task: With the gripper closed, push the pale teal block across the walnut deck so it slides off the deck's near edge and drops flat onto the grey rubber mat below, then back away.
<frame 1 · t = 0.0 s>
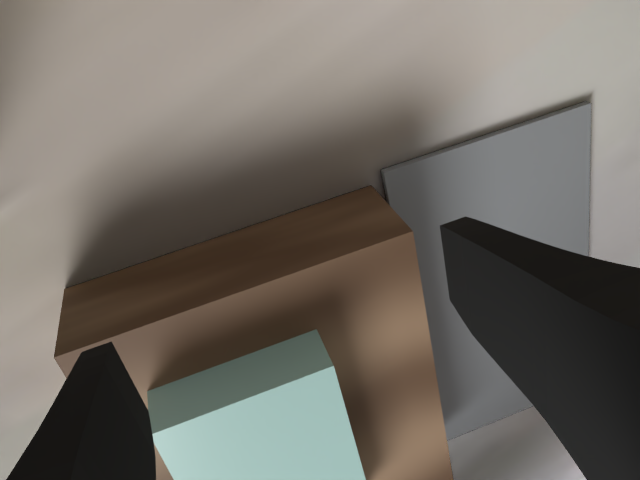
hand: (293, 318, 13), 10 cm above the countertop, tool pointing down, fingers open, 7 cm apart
mat: (498, 293, 28), on the countertop
deck: (273, 377, 27), on the countertop
pale teal block: (267, 446, 23), point 4 cm above the countertop, touching deck
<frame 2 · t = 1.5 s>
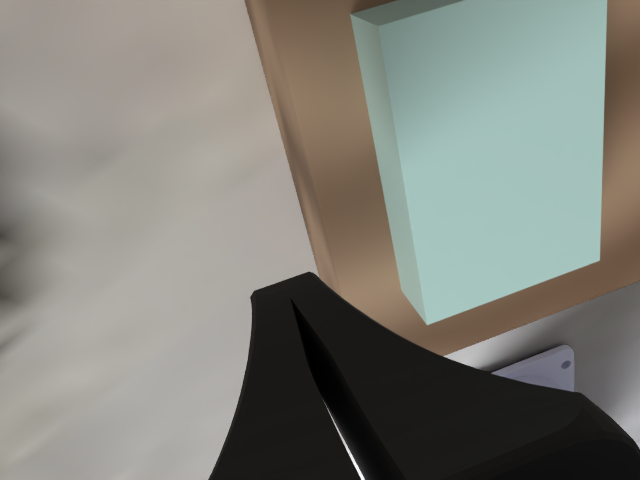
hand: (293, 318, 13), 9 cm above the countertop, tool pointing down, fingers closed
deck: (443, 109, 22), on the countertop
pale teal block: (471, 139, 18), point 4 cm above the countertop, touching deck
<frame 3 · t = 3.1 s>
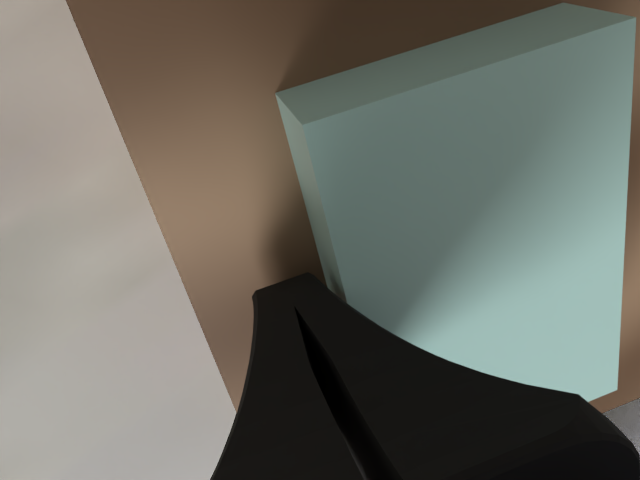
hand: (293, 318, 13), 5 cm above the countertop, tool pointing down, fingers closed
deck: (391, 191, 18), on the countertop
pale teal block: (449, 241, 14), point 4 cm above the countertop, touching gripper
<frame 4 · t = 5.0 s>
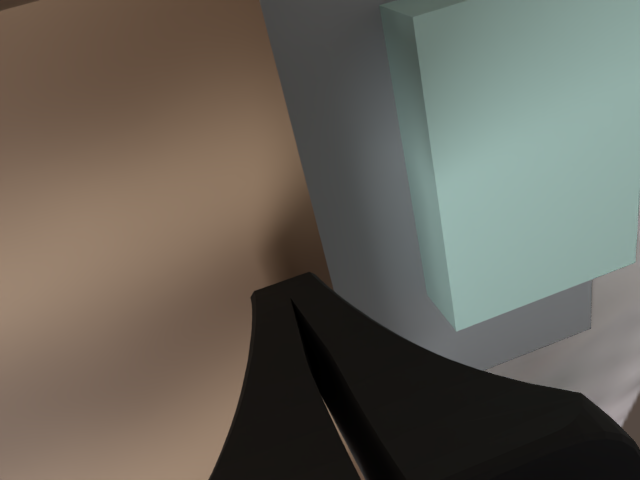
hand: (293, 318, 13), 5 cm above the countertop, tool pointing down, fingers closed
mat: (454, 170, 18), on the countertop
deck: (84, 296, 16), on the countertop
pale teal block: (543, 161, 16), point 2 cm above the countertop, tilted 180°, touching mat
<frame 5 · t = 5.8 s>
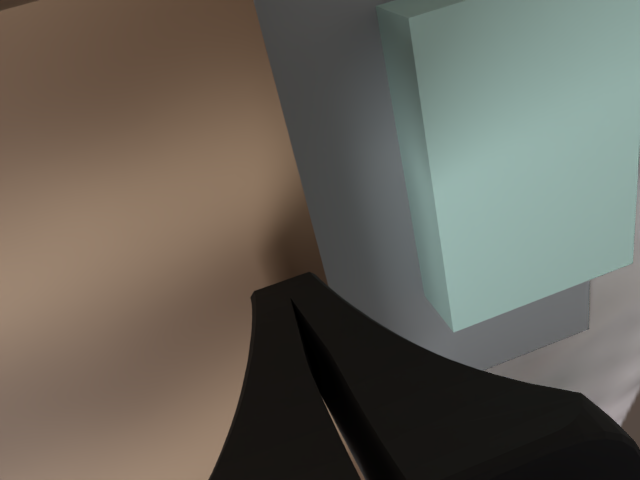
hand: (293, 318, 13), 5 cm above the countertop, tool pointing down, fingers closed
mat: (451, 170, 18), on the countertop
deck: (81, 297, 16), on the countertop
pale teal block: (540, 162, 16), point 2 cm above the countertop, tilted 180°, touching mat
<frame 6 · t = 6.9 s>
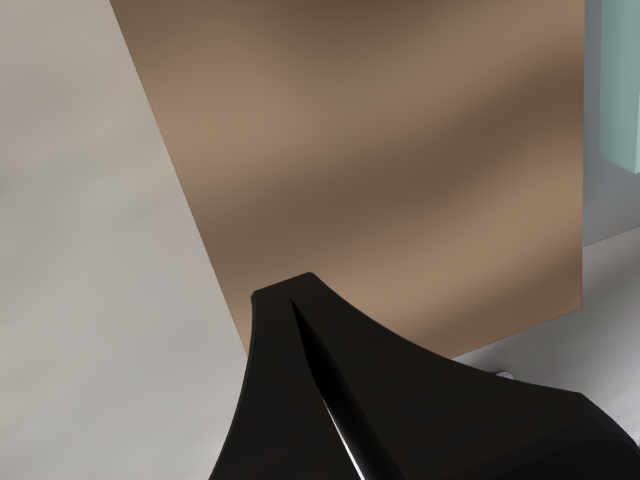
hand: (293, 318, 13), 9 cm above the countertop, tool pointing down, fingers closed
mat: (632, 47, 22), on the countertop
deck: (357, 138, 21), on the countertop
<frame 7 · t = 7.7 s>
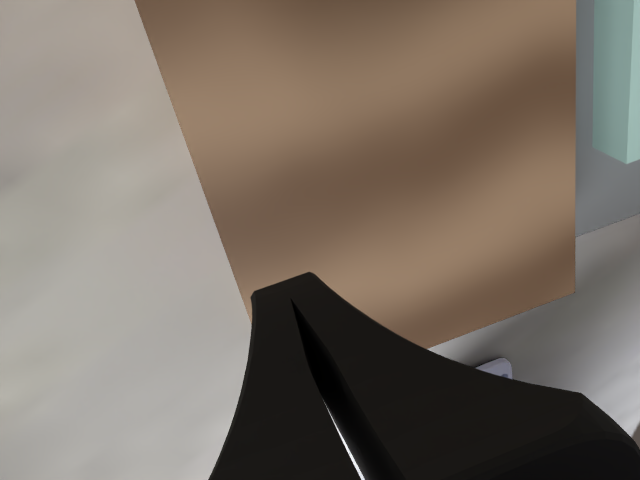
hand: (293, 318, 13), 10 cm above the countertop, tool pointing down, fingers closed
mat: (623, 43, 23), on the countertop
deck: (360, 128, 22), on the countertop
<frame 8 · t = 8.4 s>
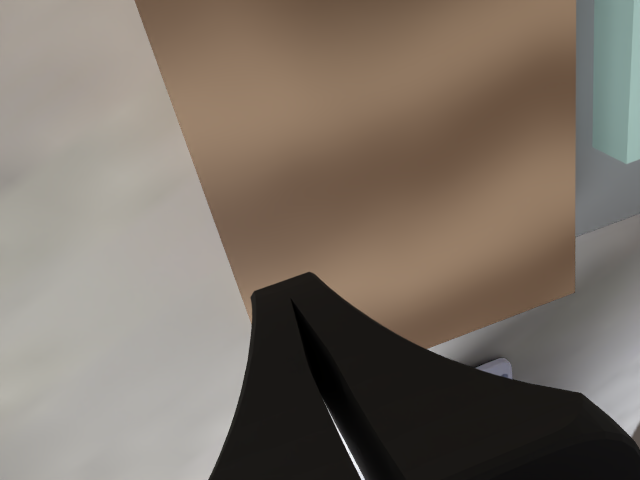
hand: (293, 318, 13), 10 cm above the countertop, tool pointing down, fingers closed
mat: (623, 43, 23), on the countertop
deck: (360, 128, 22), on the countertop
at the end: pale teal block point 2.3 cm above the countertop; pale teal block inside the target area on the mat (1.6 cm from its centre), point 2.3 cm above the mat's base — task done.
